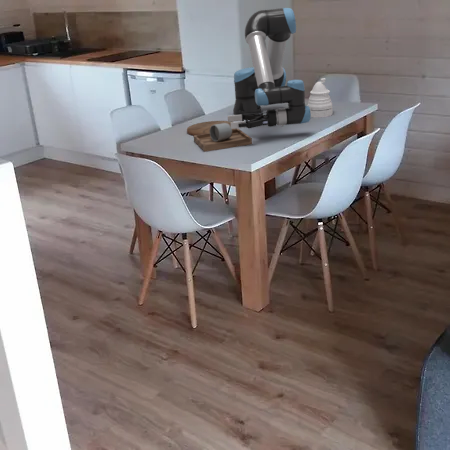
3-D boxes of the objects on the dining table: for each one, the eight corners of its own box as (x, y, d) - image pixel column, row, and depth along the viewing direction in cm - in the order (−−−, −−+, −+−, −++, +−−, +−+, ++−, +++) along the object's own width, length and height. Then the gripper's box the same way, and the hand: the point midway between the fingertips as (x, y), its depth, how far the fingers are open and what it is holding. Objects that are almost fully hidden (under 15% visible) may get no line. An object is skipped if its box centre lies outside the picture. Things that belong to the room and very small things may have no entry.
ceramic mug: (234, 139, 286) (232, 122, 284) (220, 143, 282) (218, 126, 279) (220, 135, 294) (218, 119, 292) (206, 139, 290) (204, 123, 287)
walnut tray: (194, 141, 294) (193, 135, 293) (239, 134, 299) (238, 128, 298) (204, 151, 276) (203, 145, 275) (252, 144, 281) (251, 138, 280)
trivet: (176, 134, 310) (176, 130, 309) (210, 122, 327) (209, 119, 327) (215, 139, 295) (214, 135, 294) (247, 127, 312) (247, 123, 311)
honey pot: (333, 111, 327) (333, 76, 320) (331, 117, 315) (330, 80, 308) (308, 111, 330) (307, 77, 323) (305, 117, 319) (304, 81, 312)
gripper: (281, 132, 275) (232, 137, 274) (271, 119, 298) (227, 124, 297) (280, 115, 272) (231, 120, 271) (271, 103, 295) (226, 108, 294)
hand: (229, 122), depth 284 cm, fingers open, 13 cm apart
